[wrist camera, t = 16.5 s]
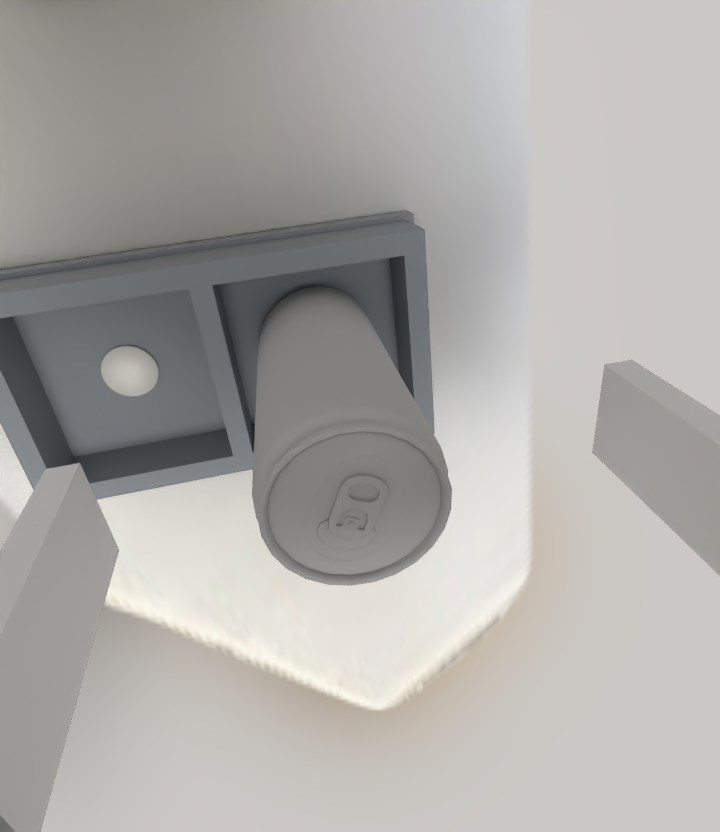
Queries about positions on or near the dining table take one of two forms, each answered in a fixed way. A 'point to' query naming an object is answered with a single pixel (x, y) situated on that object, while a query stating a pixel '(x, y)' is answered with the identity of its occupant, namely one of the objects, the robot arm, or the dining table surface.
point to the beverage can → (341, 447)
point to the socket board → (186, 345)
